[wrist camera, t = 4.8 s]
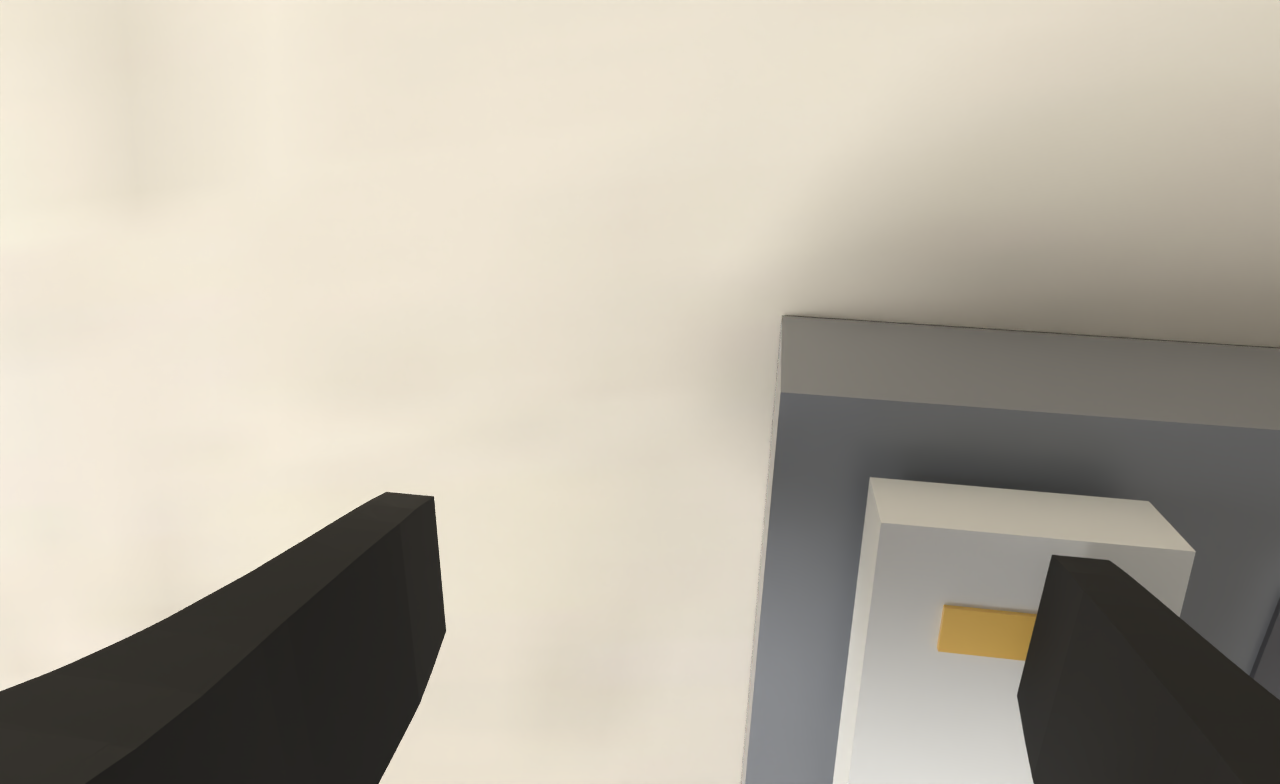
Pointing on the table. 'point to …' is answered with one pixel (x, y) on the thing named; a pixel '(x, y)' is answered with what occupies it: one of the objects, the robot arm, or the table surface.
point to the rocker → (970, 620)
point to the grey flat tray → (999, 483)
